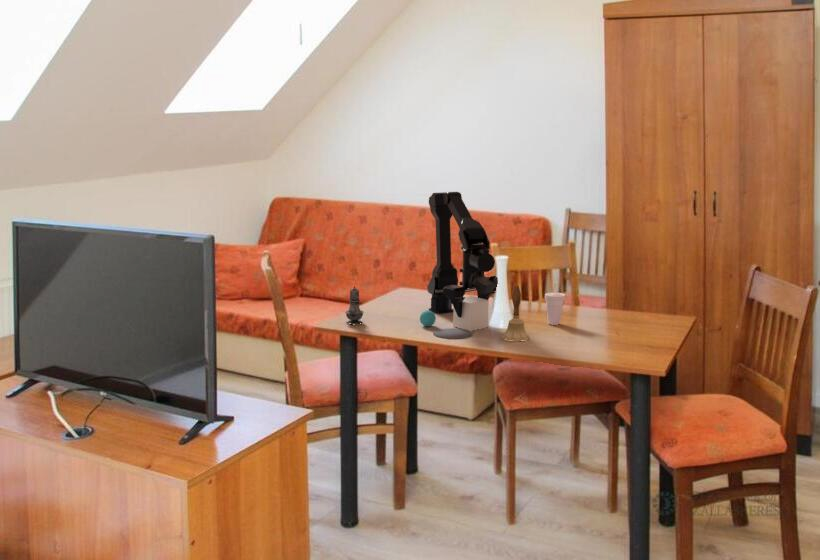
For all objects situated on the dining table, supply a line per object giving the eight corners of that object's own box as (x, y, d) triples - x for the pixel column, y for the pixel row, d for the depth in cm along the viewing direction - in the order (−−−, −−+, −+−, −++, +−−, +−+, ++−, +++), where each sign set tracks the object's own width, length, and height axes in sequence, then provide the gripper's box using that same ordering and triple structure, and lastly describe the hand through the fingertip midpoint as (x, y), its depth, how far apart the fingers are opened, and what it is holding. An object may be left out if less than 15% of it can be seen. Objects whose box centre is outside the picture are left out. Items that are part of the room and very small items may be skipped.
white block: (471, 322, 310) (471, 295, 308) (487, 327, 304) (488, 300, 303) (453, 326, 305) (453, 299, 304) (469, 331, 300) (470, 303, 298)
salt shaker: (361, 325, 305) (361, 288, 303) (343, 324, 306) (342, 287, 304) (365, 321, 311) (365, 284, 309) (347, 320, 312) (347, 283, 310)
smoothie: (566, 323, 311) (568, 280, 309) (560, 327, 306) (562, 283, 303) (547, 320, 314) (548, 278, 311) (541, 325, 308) (542, 281, 305)
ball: (428, 323, 309) (428, 308, 308) (438, 326, 305) (439, 311, 304) (416, 325, 306) (416, 310, 305) (426, 328, 302) (426, 313, 301)
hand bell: (503, 341, 288) (505, 289, 285) (500, 334, 296) (502, 283, 293) (531, 342, 288) (533, 289, 285) (528, 334, 297) (529, 283, 293)
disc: (454, 327, 305) (454, 326, 305) (480, 334, 296) (480, 334, 296) (425, 332, 297) (425, 332, 297) (451, 341, 288) (451, 340, 288)
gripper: (466, 273, 289) (465, 324, 292) (511, 266, 301) (510, 316, 304) (442, 268, 298) (441, 317, 301) (487, 261, 309) (485, 309, 312)
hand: (470, 315), depth 304 cm, fingers open, 9 cm apart
